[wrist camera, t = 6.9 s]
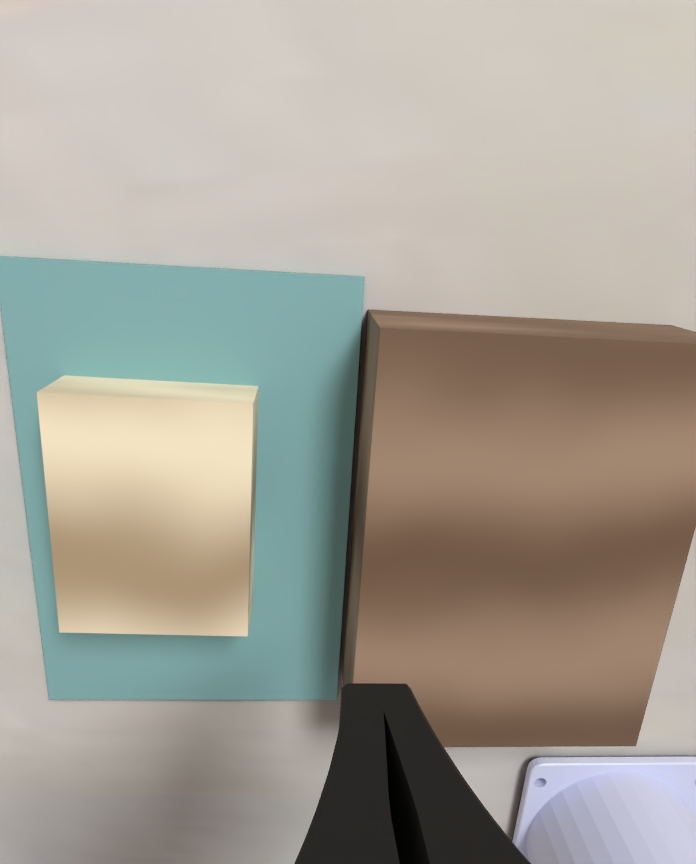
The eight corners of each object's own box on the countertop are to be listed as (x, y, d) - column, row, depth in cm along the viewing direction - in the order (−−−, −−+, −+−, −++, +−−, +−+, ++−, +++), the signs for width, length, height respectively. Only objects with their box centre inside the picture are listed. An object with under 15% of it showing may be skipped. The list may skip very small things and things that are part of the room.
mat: (336, 694, 24) (336, 700, 24) (52, 693, 23) (49, 699, 23) (363, 276, 19) (364, 277, 18) (-1, 255, 18) (-6, 256, 18)
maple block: (59, 632, 19) (81, 596, 21) (247, 636, 20) (252, 601, 22) (36, 392, 17) (63, 375, 19) (253, 403, 17) (258, 385, 19)
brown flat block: (591, 675, 24) (635, 746, 21) (342, 673, 24) (348, 747, 20) (671, 325, 20) (744, 345, 16) (367, 309, 19) (380, 327, 16)
